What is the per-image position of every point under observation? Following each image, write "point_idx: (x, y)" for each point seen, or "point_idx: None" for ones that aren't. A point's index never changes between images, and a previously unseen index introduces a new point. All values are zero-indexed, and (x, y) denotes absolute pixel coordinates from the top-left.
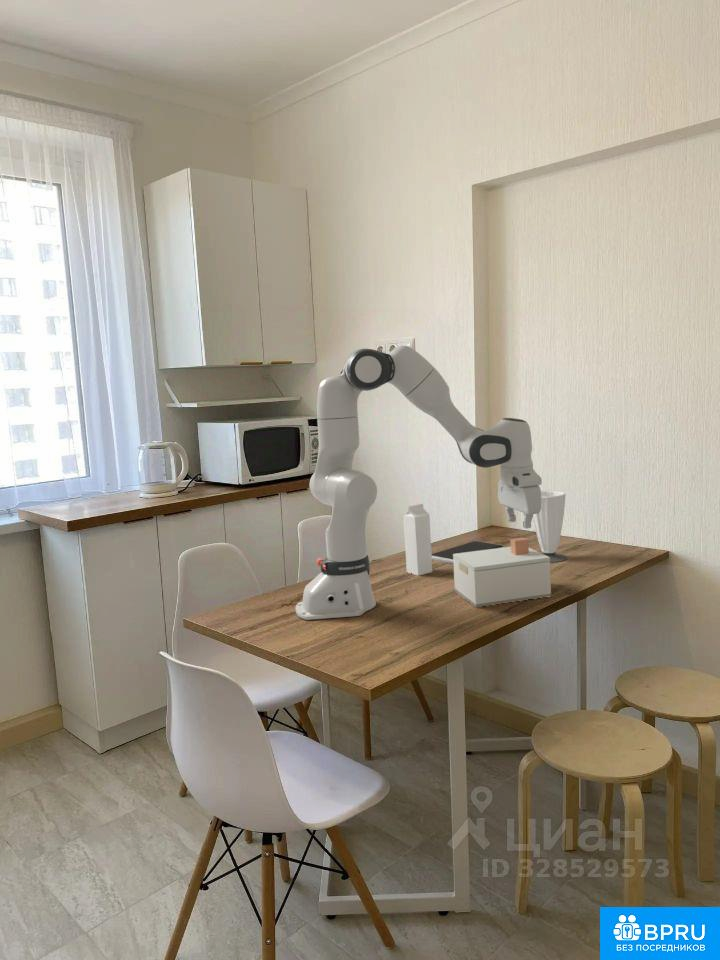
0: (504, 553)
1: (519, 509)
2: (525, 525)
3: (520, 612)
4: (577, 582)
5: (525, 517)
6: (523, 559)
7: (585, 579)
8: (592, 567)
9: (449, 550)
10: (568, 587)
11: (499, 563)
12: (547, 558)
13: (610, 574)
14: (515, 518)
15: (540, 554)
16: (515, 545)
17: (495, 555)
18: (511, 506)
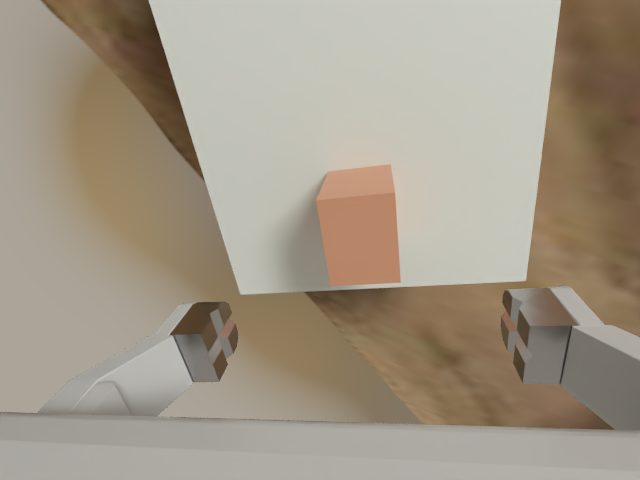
0: (389, 120)
1: (71, 436)
2: (171, 317)
3: (152, 78)
4: (392, 330)
5: (88, 375)
6: (228, 180)
7: (410, 356)
8: (509, 411)
9: None
10: (356, 294)
11: (166, 16)
12: (237, 283)
13: (425, 413)
14: (517, 354)
15: (300, 281)
16: (321, 191)
17: (363, 45)
18: (379, 449)
